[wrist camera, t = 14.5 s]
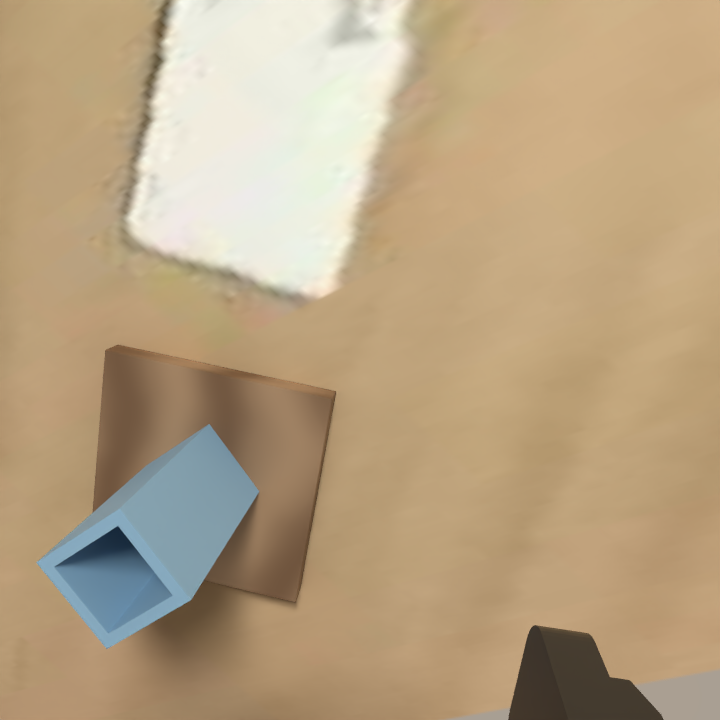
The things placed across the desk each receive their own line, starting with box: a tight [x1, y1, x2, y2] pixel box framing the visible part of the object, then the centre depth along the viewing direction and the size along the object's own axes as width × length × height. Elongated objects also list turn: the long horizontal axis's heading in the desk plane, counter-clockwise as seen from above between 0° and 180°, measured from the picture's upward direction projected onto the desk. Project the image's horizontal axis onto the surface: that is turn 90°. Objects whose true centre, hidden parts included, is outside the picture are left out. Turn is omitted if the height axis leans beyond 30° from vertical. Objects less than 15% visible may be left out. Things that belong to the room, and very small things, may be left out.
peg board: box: [93, 345, 336, 602], centre depth 36 cm, size 14×14×8 cm
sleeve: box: [36, 424, 259, 649], centre depth 33 cm, size 5×5×11 cm
